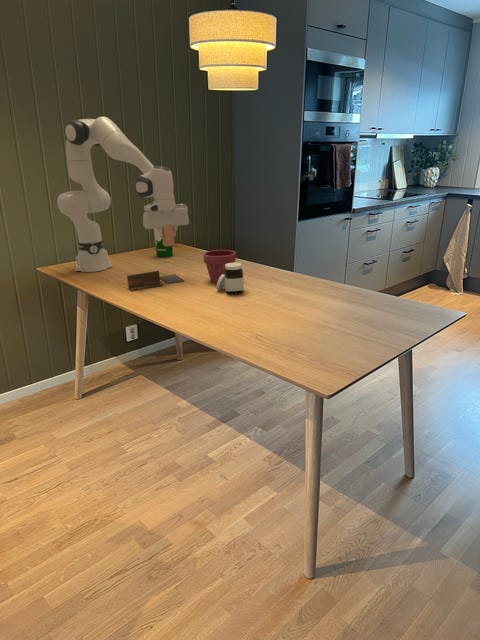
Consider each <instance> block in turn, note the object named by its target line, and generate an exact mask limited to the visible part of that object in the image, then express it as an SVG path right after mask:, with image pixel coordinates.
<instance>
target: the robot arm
mask: <svg viewBox="0 0 480 640" xmlns="http://www.w3.org/2000/svg"><path fill="white" fill-rule="evenodd" d="M64 136H65V139H66V143H65V145H66V146H65V155H66V157H65V158H66V161H67V170H68V177H69V178H70V179H71V180H72V181H73V182H76V184H80V185H81V187H82V190H71V191H66V192H63V193H61V194H59V195H58V197H57V199H56V200H57V202H56V204H57V208H58V209H59V211H60V212H61V213H62V214H63V215H65V216H67V218H69V219H70V220H71V221H72V223H73V225H74V226H75V229H76V233H77V238H78V243H77V244H78V245H77V246H78V254H77V255H76V256H75V257H74V258H75V261H76V264H75V268H74V269H75V272H76V271H81V272H82V273H83V272H84V273H94V272H100V271H104V270H108V269H109V268H111V267H114V264H113V263H111V262H110V259H109V255H108V251H107V250H106V249H105V247H104V241H103V239H102V233H101V227H100V224H99V223H98V222H96V221H94V220H92V219H89V218H88V215H87V214H92V213H99V212H103V211H106V210H109V208H110V206H111V202H112V200H111V196H110V194H109V192H107V190H105V189H104V188H102V187H101V186H100V184H98V181H97V180H96V177H95V174H94V170H93V169H94V168H93V163H92V155H91V148H92V147H93V146H95V147H98V146H100V147H101V148H102V149H103V150H104V152H105V153H106V154H107V155H108V156H109V157H110V158H112V159H114V160H116V161H119V162H125V163H129V164H131V165H134V166H135V167H137V169H139V170H140V171H141V172H142V173H143V174H141V175H139V176H137V177H136V178H135V180H134V183H133V188H134V192H135V193H136V195H137V196H139V197H140V198H142V199H143V198H144V199H145V198H146V199H147V198H153V201H152V202H151V203H148V204H146V205H144V206H143V209H144V212H143V217H142V219H143V220H142V221H143V223H142V224H143V228H145V230H154V229H155V228H157V231H158V233H159V234H160V238H164V234H163V233H161V231H160V230H161V228H164V226H167V225H173V233H174V237H177V230H178V229H179V228H178V226H179V227H180V226H188V225H189V224H190V219H189V214H188V213H189V210H188V209H189V208H188V206H187V204H185V203H176V201H175V195H174V188H175V187H174V179H173V174H172V171H171V169H170V168H169V167H167V166H164V165H163V166H161V165H155V164H154V162H152V160H150V159H149V158H148V157H147V155H146V154H145V153H144V152H143V151H142V150H140V148H138V147H137V146H135V145H134V143H132V142H131V140H130V139H128V137H127V136H126V135H125V133H124V132H122V130H121V129H120V128H119V126H118V125H117V124H116V123H115V122H114V121H112V119H110V118H109V117H106V116H99V117H97V118H95V119H94V118H81V119H71V120H69V121H67V122H66V124H65V126H64Z"/></svg>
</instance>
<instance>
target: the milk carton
mask: <svg viewBox="0 0 480 640" xmlns="http://www.w3.org/2000/svg"><path fill="white" fill-rule="evenodd" d="M160 231H161V233H162V229H161V230H160ZM153 232H154V233H153V234H154V243H155V244H154V245H155V251H156V258H157V257H169V258H170V257H172V256H173V252H174V251H173V250H174V249H173V246H164V245H163V239H162V238H160V234H159V233H158V231H157V228H155V229H153ZM171 255H172V256H171Z"/></svg>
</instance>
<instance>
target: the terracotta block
mask: <svg viewBox="0 0 480 640" xmlns="http://www.w3.org/2000/svg"><path fill="white" fill-rule="evenodd" d="M161 229H162V233H163V234H164V238H162V239H163V245H164V246H172V247H173V246H175V236H174V233H173V230H174V228H173V225H167V226H164V228H161Z"/></svg>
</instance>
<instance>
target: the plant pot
mask: <svg viewBox="0 0 480 640" xmlns="http://www.w3.org/2000/svg"><path fill="white" fill-rule="evenodd" d="M236 254H237V253H236V251H234V250H229V249H214V250H209V251H205V252H204V253H203V263H205V265H206V269H207V272H208V276H209V280H210V282H211V283H212V284H213V283H214V284H217V282H218V279H219V278H220V276H221V275H222V274H224V275H225V264H227V263H236V261H237V255H236Z"/></svg>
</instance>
